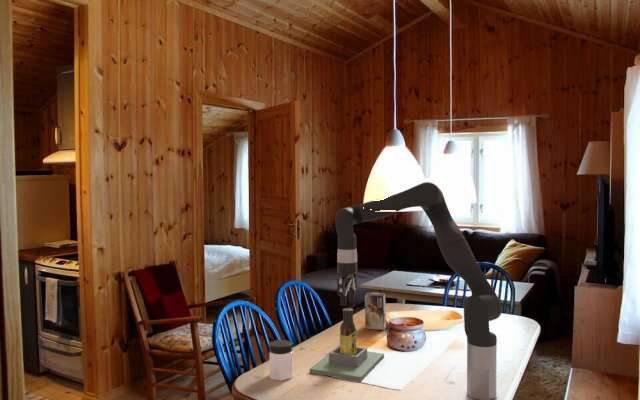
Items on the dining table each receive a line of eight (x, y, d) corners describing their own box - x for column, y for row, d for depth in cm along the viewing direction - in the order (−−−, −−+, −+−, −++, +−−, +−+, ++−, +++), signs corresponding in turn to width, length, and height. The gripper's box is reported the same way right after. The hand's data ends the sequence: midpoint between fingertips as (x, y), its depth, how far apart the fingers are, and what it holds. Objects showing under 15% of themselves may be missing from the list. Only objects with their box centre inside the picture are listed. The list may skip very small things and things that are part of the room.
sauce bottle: (355, 364, 197) (355, 312, 196) (338, 363, 198) (338, 311, 197) (357, 358, 204) (357, 307, 203) (341, 357, 205) (341, 307, 204)
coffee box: (386, 326, 251) (386, 292, 250) (384, 330, 245) (384, 295, 244) (367, 325, 254) (367, 291, 253) (364, 328, 248) (364, 294, 247)
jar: (264, 377, 190) (263, 344, 189) (277, 370, 197) (276, 338, 196) (285, 382, 185) (284, 348, 185) (297, 374, 192) (297, 342, 192)
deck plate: (361, 381, 186) (361, 365, 185) (309, 372, 194) (309, 357, 194) (384, 357, 209) (383, 343, 209) (337, 350, 217) (337, 337, 217)
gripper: (349, 264, 192) (349, 308, 192) (363, 258, 204) (363, 300, 205) (330, 263, 195) (331, 306, 195) (345, 257, 208) (345, 298, 208)
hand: (347, 303), depth 200 cm, fingers open, 8 cm apart
